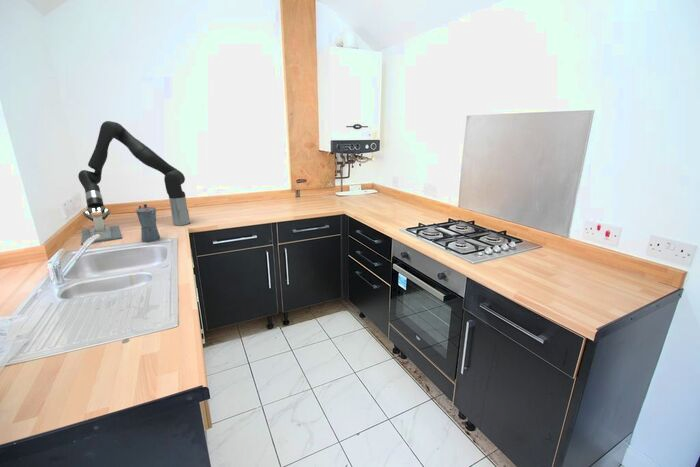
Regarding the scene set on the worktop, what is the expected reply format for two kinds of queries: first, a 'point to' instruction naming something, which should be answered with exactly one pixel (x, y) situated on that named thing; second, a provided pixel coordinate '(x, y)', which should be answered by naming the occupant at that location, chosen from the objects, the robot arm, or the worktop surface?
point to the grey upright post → (98, 221)
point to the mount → (102, 233)
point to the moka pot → (148, 223)
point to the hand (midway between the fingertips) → (99, 225)
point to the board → (115, 236)
